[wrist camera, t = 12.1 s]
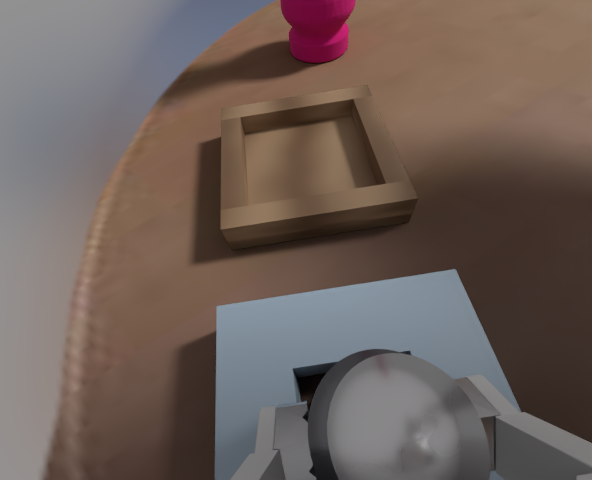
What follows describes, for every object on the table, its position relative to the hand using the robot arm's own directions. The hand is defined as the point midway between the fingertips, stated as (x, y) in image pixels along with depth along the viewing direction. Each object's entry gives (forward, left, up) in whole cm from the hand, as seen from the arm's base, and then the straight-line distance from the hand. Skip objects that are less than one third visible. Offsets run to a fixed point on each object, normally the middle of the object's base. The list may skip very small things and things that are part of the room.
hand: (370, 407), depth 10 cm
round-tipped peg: (0, +1, -6) cm, 6 cm away
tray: (0, -16, -6) cm, 17 cm away
